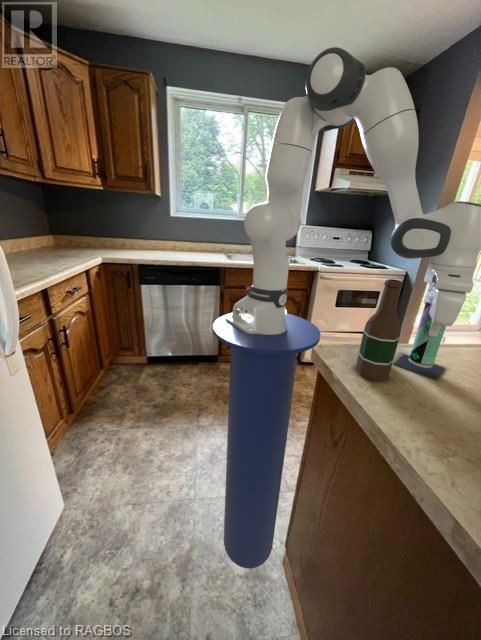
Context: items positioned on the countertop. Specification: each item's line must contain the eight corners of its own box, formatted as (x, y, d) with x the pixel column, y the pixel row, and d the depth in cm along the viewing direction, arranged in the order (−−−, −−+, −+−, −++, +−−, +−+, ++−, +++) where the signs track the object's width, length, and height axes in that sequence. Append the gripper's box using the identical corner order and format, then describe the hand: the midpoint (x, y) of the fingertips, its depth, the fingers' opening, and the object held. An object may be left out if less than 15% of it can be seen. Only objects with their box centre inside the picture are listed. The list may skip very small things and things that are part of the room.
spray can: (424, 358, 74) (447, 287, 67) (437, 368, 69) (463, 292, 62) (404, 357, 74) (425, 285, 67) (415, 367, 69) (439, 291, 62)
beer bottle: (370, 383, 64) (395, 284, 56) (348, 367, 71) (367, 277, 63) (395, 379, 67) (422, 283, 59) (372, 364, 74) (393, 276, 65)
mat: (393, 364, 74) (393, 363, 74) (403, 354, 80) (403, 354, 80) (436, 379, 67) (436, 379, 67) (444, 368, 73) (444, 367, 73)
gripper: (426, 269, 74) (412, 317, 79) (438, 282, 57) (419, 342, 61) (454, 272, 71) (438, 321, 76) (476, 286, 54) (453, 349, 59)
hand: (430, 331), depth 69 cm, fingers closed on spray can, 5 cm apart
